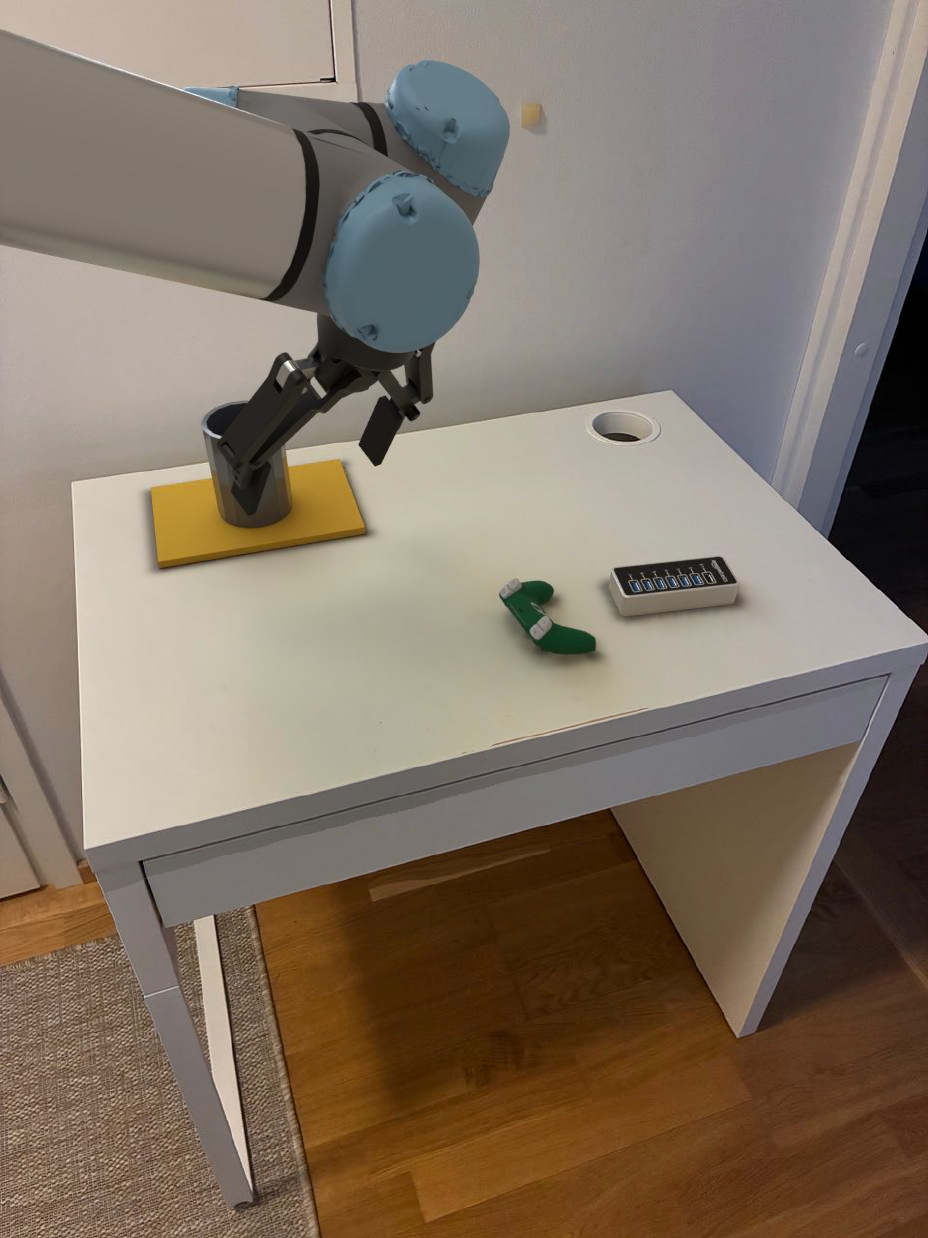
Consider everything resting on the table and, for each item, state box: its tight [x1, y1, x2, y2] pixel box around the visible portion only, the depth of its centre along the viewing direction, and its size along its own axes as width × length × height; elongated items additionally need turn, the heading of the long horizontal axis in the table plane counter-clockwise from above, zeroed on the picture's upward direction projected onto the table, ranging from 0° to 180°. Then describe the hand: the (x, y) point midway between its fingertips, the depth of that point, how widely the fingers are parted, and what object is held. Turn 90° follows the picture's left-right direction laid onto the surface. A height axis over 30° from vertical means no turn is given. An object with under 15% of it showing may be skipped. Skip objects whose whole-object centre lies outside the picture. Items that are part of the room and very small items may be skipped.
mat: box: [150, 458, 367, 569], centre depth 98 cm, size 20×13×1 cm, turn 107°
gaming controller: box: [498, 577, 597, 656], centre depth 84 cm, size 9×4×6 cm
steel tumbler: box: [200, 400, 292, 528], centre depth 94 cm, size 7×7×10 cm
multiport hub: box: [608, 555, 740, 617], centre depth 88 cm, size 4×11×2 cm, turn 100°
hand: (309, 477), depth 84 cm, fingers open, 13 cm apart
